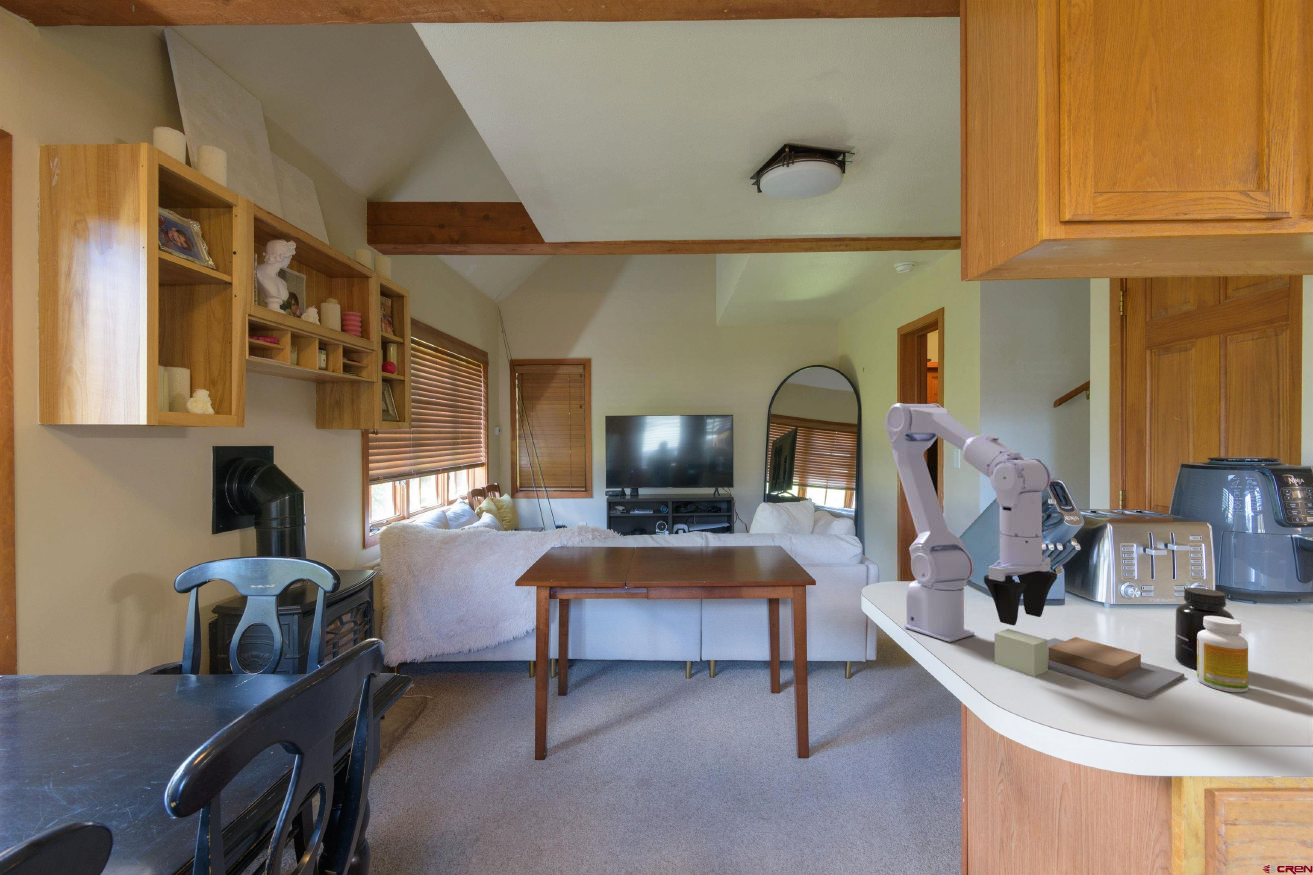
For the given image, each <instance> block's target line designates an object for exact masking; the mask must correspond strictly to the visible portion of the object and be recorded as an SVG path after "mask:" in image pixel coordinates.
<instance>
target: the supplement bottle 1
mask: <svg viewBox="0 0 1313 875" xmlns="http://www.w3.org/2000/svg"><path fill="white" fill-rule="evenodd" d="M1226 596H1227V595H1226V594H1225V593H1224V592H1222V591H1218V590H1215V589H1210V588H1203V587H1186V588H1184V590H1183V600H1184V601H1185V603H1182V604H1180V605H1178V606H1177V607H1176V609H1175V622H1174V623H1175V625H1174V626H1175V630H1174V631H1175V636H1174V639H1175V640H1174V641H1175V643H1174V646H1175V647H1174V652H1175V654H1174V656H1175V660H1176V661H1177V662H1178V664H1181V665H1182V666H1185V667H1187V668H1190V669H1193V670H1195V671H1197V634H1198V632H1200V631H1202V630H1206V628H1205V627H1204V625H1203V618H1204V616H1219V617H1225V618H1230V619H1233V620H1235V617H1234V615H1233V614H1232V613H1231V612H1229V611H1228V610H1226V609H1225V607H1227V602H1226V600H1227V599H1226Z"/></svg>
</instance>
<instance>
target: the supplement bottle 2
mask: <svg viewBox="0 0 1313 875" xmlns="http://www.w3.org/2000/svg"><path fill="white" fill-rule="evenodd" d="M1203 625H1204V627H1205V628H1206V630H1202V631H1200V632H1198V634H1197V670H1196V675H1197V680H1198V682H1200V684H1202V685H1203V686H1207V687H1208V688H1212V689H1215V690H1220V691H1222V692H1227V693H1246V692H1248V691H1249V644H1248V642H1249V641H1248V640H1246V638H1244V637H1243V636H1241V635H1240V634H1241V633H1242V622H1240V621H1239V620H1236V619H1234V620H1233V619H1230V618H1225V617H1219V616H1204V618H1203Z"/></svg>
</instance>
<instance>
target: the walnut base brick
mask: <svg viewBox="0 0 1313 875" xmlns="http://www.w3.org/2000/svg"><path fill="white" fill-rule="evenodd" d="M1063 641H1064V642H1061V643H1059V644H1056V645H1054V646H1051V647H1049V660H1052V661H1055V662H1058V663H1061V664H1065V665H1068V666H1071V667H1074V668H1078V669H1081V670H1084V671H1087V672H1091V673H1094V674H1097V675H1101V676H1104V677H1107V678H1110V679H1114V680H1115V679H1117V678H1120V677H1122V676H1124V675H1126V674H1128V673H1130V672H1132V671H1134V670H1136V669H1138V668H1140V667H1141V662H1142V654H1141V653H1137V652H1134V651H1130V650H1126V649H1123V648H1120V647H1119V648H1118V647H1115V646H1110V645H1108V644H1104V643H1099V642H1096V641H1092V640H1088V639H1085V638H1080V637H1077V636H1076V637H1075V636H1074V637H1071V638H1070V639H1069V638H1068V639H1067V640H1063Z"/></svg>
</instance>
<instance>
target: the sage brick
mask: <svg viewBox="0 0 1313 875" xmlns="http://www.w3.org/2000/svg"><path fill="white" fill-rule="evenodd" d="M1048 640H1049V639H1046V638H1043V637H1039V636H1035V635H1032V634H1029V633H1025V632H1021V631H1018V630H1013V629H1010V628H1006V629H1003V630H1000V631H997V632H994V664H996V665H999V666H1002V667H1005V668H1008V669H1011V670H1014V671H1016V672H1020V673H1023V674H1025V675H1029V676H1031V677H1037V676H1039V675H1042V674H1044V673H1046V672H1048V670H1049V668H1048Z"/></svg>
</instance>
